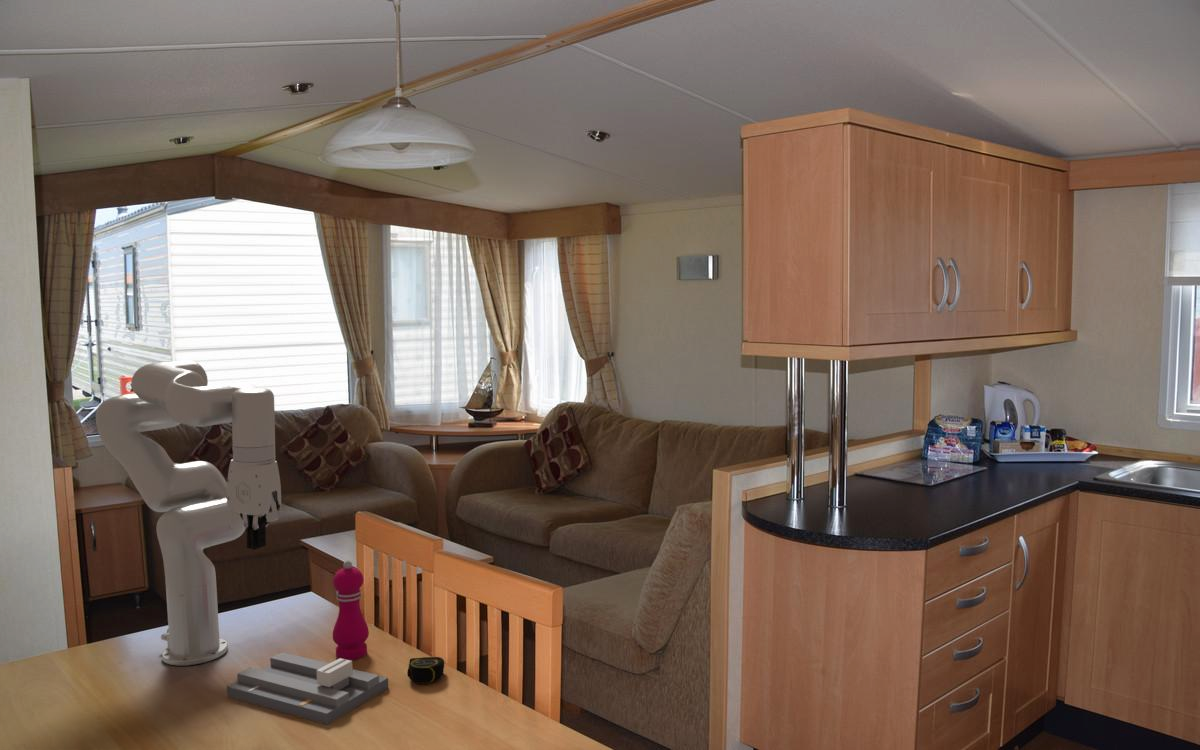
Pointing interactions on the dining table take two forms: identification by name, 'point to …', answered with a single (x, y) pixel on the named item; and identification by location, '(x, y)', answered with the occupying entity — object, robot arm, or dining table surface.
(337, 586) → the pepper mill
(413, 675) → the tape measure
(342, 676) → the fader tab
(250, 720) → the dining table surface
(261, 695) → the fader console
